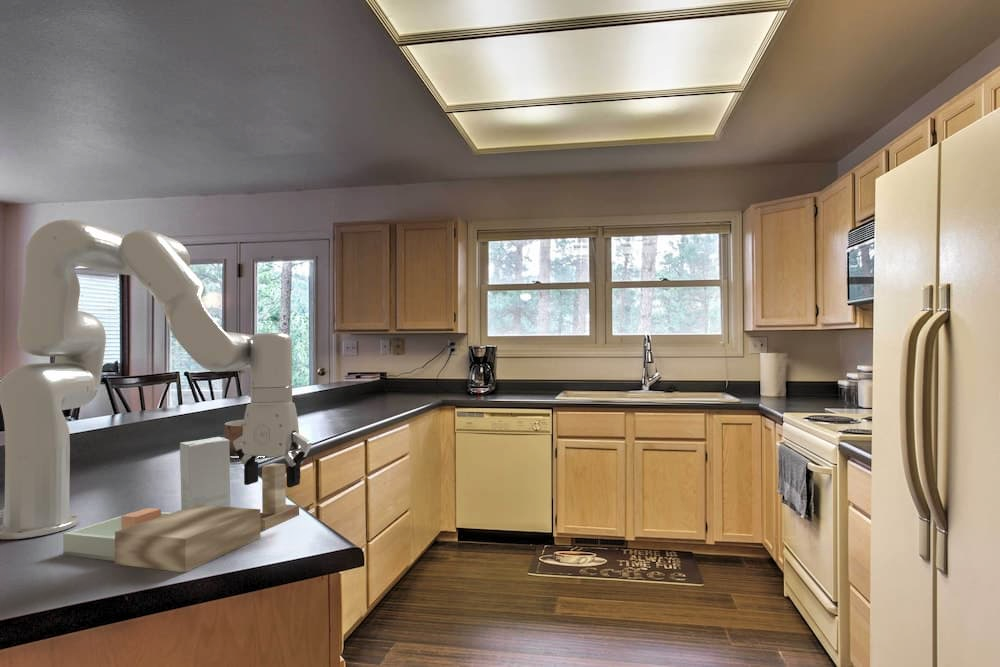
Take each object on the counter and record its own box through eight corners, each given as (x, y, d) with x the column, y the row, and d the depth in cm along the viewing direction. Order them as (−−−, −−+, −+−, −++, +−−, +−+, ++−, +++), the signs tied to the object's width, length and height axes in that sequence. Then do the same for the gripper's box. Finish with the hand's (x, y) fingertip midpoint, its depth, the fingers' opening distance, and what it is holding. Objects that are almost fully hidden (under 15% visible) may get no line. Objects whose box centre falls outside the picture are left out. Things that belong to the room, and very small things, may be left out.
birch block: (114, 564, 87) (115, 531, 87) (197, 531, 102) (197, 504, 102) (185, 572, 83) (185, 538, 83) (260, 537, 98) (260, 509, 98)
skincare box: (220, 504, 122) (220, 436, 122) (231, 508, 117) (231, 438, 118) (178, 512, 115) (178, 441, 116) (188, 518, 111) (188, 443, 112)
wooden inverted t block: (247, 529, 103) (246, 470, 104) (282, 514, 113) (282, 459, 113) (265, 530, 102) (264, 470, 103) (299, 515, 112) (298, 460, 112)
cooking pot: (303, 456, 178) (303, 423, 179) (226, 464, 168) (226, 428, 168) (290, 444, 204) (290, 415, 205) (222, 450, 194) (222, 419, 194)
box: (63, 555, 91) (63, 533, 91) (140, 528, 105) (140, 510, 105) (118, 561, 88) (118, 539, 88) (190, 533, 101) (190, 514, 101)
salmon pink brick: (134, 547, 93) (121, 545, 93) (160, 537, 97) (147, 536, 98) (135, 517, 93) (121, 516, 94) (161, 508, 98) (147, 507, 98)
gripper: (220, 397, 107) (220, 487, 106) (297, 398, 102) (297, 491, 101) (248, 394, 114) (249, 478, 113) (321, 394, 109) (322, 482, 108)
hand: (272, 484), depth 107 cm, fingers open, 9 cm apart
